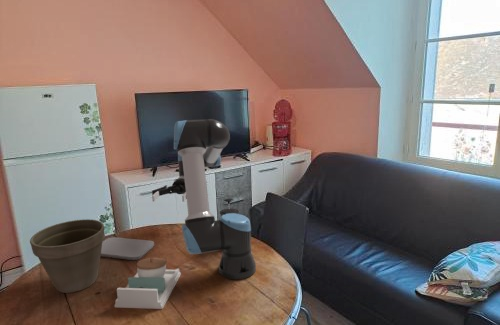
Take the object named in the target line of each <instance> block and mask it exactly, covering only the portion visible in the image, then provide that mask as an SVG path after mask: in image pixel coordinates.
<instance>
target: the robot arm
mask: <svg viewBox="0 0 500 325" xmlns="http://www.w3.org/2000/svg"><path fill="white" fill-rule="evenodd" d="M173 129H174V130H173V150H177V162H178V163H177V164H178V178H177V179H175V180H174V181H173V183H172V185H170V186H168V185H164V186H161V187H157V188H155V189H153V190H151V193H152V196H151V199H152V202H153V203H154V202H156V200H158V198H159V199H160V196H164V195H168V194H169V195H172V194H177V195H181V197H182V198H181V199H182V202H185V201H186V206H187V217H186V218H185V219H184V224H183V225H181V230H182V236H183V240H184V244H185V248H186V251H187V253H188V254H190V255H198V254H200V255H201V254H205V253H206V254H207V253H211V252H217V251H222V253H221V257H220V261H219V265H218V272H219V274H220V276H222V277H223V278H226V279H229V280H243V279H247V278H249V277H251V276H253V275H254V274H255V273H256V270H257V265H256V263H257V262H256V260H255V258H254V256H253V253H252V237H251V236H252V234H251V233H252V226H251V221H250V219H249V218H248V217H247V216H245V215H244V214H239V213H238V214H235V213H228V214H225V215H222V216H221V215H220V219H218V220H215V218H216V217H215V215H214V214H213V213H212V212H211V211H210V210H211V209H210V204H209V203H210V202H209V194H208V193H209V192H208V184H207V178H206V177H207V176H206V169H205V168H210V167H218V166H220V165H221V162H222V160H221V153H222V151H223V149H224V148H226V146H228V144H229V142H230V140H231V135H230V134H231V133H230V131H229V129H228V127H227V126H226V125H225V124H224V123H223V122H221V121H219V120H217V119H213V118H208V119H191V120H187V119H185V120H178V121H176V122H175V123H174V128H173Z"/></svg>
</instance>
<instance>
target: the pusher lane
mask: <svg viewBox="0 0 500 325" xmlns="http://www.w3.org/2000/svg"><path fill="white" fill-rule="evenodd" d="M181 274H182V273H181V271H180V268H175V269H166V271H165V275H164V277H163V278H165V290H164V292H158V289H146V288H144V287H139V288H129V285H128V284H127V285H126V286H125V287H117V289H116V295H117V298H116V299H115V300H114V302H115V304H114V308H120V309H121V308H125V309H148V310H150V309H154V310H155V309H156V310H163V309H164V307H165V305H166V303H167V301H168V299H169V298H170V296H171V294H172V292H173V290H174V288H175V286H176V284H177V283H178V280H179V279H180V276H181ZM133 277H138V272H136V274H134V276H133Z"/></svg>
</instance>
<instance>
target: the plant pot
mask: <svg viewBox="0 0 500 325" xmlns="http://www.w3.org/2000/svg"><path fill="white" fill-rule="evenodd" d="M105 234H106V233H105V225H104V223H103V222H102V221H100V220H97V219H84V218H83V219H75V220H68V221H65V222H60V223H55V224H53V225H51V226H48V227H45V228H43V229H41V230H39V231H38V232H36V233H35V234H33V235H32V236H31V238H30V240H29V243H30V247H31V250H32V254H33V255H34V256H35V257H37V258H38V260H39V262H40V264H41V265H42V267H43V269H44V270H45V273H46V274H47V276H48V277H49V280H50V281H51V284H52V285H53V286H54V288H55V289H56V290H57V291H58V292H60V293H65V294H68V293H69V294H70V293H77V292H80V291H82V290H85V289H87V288H89V287H91V286H92V285H93V284H94V283H96V282H97V279H98V275H99V269H100V263H101V257H102V256H101V249H102V242H103V241H104V240H105V238H106V235H105Z"/></svg>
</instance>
